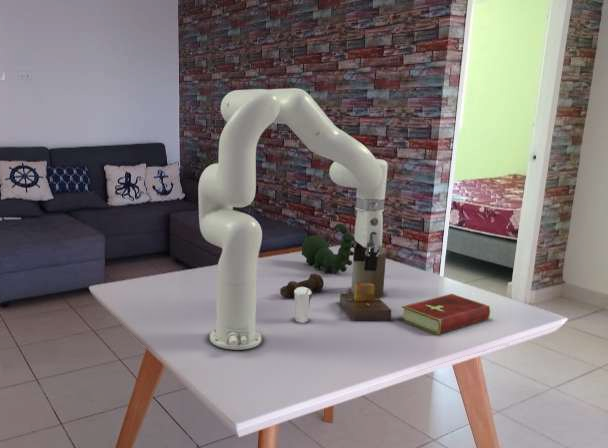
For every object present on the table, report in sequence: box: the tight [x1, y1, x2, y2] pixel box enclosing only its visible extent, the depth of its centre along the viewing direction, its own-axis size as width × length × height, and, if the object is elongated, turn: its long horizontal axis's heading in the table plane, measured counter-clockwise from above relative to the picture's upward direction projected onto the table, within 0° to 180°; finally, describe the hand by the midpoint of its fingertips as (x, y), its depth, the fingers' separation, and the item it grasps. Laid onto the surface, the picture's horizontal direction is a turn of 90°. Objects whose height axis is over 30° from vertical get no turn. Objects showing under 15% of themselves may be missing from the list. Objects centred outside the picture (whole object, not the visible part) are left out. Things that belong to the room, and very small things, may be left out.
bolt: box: [279, 273, 325, 298], centre depth 171 cm, size 6×5×15 cm
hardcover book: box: [400, 293, 491, 336], centre depth 152 cm, size 12×21×4 cm, turn 121°
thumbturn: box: [354, 283, 375, 301], centre depth 158 cm, size 5×2×5 cm, turn 92°
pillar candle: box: [350, 247, 387, 298], centre depth 172 cm, size 10×10×15 cm
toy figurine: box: [301, 223, 355, 274], centre depth 197 cm, size 9×19×25 cm
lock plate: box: [339, 292, 392, 322], centre depth 158 cm, size 14×10×3 cm
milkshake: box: [294, 287, 313, 324], centre depth 149 cm, size 4×5×10 cm
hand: (364, 265), depth 156 cm, fingers open, 9 cm apart
